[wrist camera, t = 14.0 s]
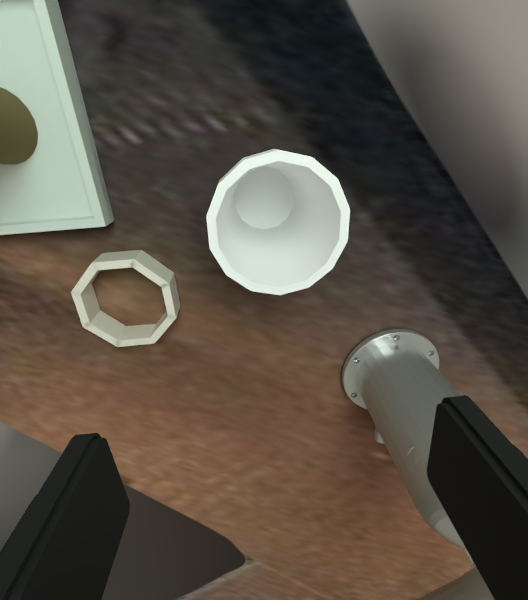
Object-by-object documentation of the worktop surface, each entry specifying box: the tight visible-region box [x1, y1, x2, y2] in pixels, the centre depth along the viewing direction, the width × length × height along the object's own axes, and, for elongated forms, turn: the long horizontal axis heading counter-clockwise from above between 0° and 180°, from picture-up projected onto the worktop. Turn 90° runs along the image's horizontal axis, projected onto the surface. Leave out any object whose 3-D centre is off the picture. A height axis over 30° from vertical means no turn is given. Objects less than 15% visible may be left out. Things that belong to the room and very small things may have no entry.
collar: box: [71, 250, 180, 347], centre depth 35 cm, size 10×10×3 cm
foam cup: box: [206, 149, 350, 295], centre depth 28 cm, size 10×9×13 cm
